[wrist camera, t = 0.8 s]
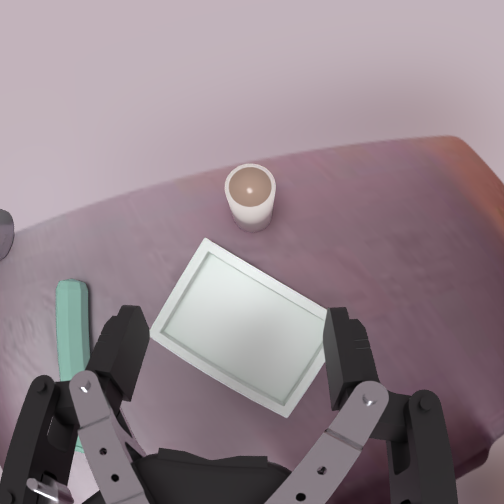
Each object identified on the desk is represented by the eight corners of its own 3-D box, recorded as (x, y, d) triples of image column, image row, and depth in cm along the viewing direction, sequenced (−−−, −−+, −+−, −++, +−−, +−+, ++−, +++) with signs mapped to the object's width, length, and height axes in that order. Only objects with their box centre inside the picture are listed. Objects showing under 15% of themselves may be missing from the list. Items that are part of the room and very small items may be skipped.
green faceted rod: (47, 275, 33) (64, 451, 29) (87, 277, 35) (103, 454, 31) (58, 279, 39) (71, 435, 34) (94, 280, 41) (106, 438, 37)
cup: (225, 220, 39) (215, 195, 30) (246, 188, 40) (241, 155, 30) (259, 239, 39) (259, 220, 29) (278, 207, 40) (284, 178, 30)
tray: (153, 332, 38) (147, 334, 35) (208, 241, 39) (204, 237, 37) (285, 411, 36) (287, 418, 33) (342, 320, 37) (348, 322, 35)
